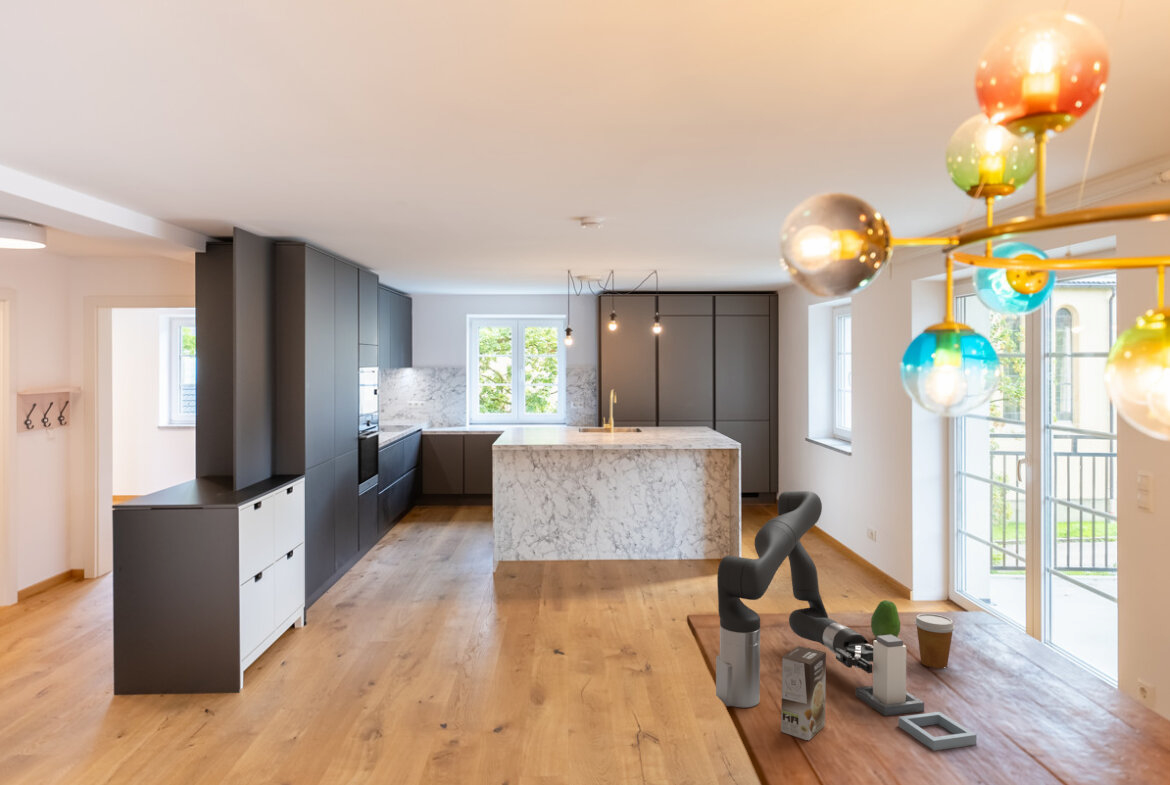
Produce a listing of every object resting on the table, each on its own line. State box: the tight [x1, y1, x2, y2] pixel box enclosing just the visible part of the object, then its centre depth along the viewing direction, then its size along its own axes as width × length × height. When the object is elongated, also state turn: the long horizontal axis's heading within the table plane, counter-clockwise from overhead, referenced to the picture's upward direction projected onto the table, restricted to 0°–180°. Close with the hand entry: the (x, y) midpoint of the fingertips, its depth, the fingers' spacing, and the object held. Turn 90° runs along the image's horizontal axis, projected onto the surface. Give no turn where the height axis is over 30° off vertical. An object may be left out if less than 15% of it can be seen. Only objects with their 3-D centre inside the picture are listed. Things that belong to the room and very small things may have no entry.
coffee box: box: [780, 645, 827, 741], centre depth 149 cm, size 9×6×16 cm
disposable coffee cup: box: [914, 613, 956, 669], centre depth 184 cm, size 10×10×12 cm
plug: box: [872, 635, 907, 704], centre depth 161 cm, size 5×5×15 cm
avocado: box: [870, 599, 901, 640], centre depth 200 cm, size 8×8×12 cm
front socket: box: [898, 711, 977, 751], centre depth 147 cm, size 10×10×2 cm
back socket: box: [855, 685, 925, 717], centre depth 161 cm, size 10×10×2 cm
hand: (887, 667), depth 162 cm, fingers open, 8 cm apart
